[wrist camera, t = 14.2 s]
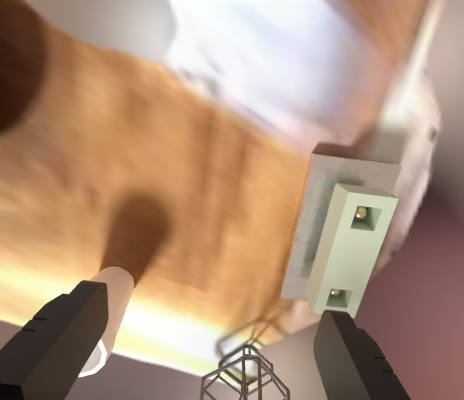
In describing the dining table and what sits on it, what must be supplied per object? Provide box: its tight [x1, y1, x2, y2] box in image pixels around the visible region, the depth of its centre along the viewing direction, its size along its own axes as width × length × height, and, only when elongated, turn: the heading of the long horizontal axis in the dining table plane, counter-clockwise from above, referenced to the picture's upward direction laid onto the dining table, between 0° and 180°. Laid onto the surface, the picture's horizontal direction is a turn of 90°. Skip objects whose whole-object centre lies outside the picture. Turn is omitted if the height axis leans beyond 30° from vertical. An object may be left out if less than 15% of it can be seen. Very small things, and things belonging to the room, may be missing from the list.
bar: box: [305, 183, 399, 318], centre depth 34 cm, size 18×6×4 cm, turn 173°
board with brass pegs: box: [279, 153, 401, 301], centre depth 36 cm, size 24×12×6 cm, turn 173°
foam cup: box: [78, 266, 135, 377], centre depth 37 cm, size 10×9×13 cm
